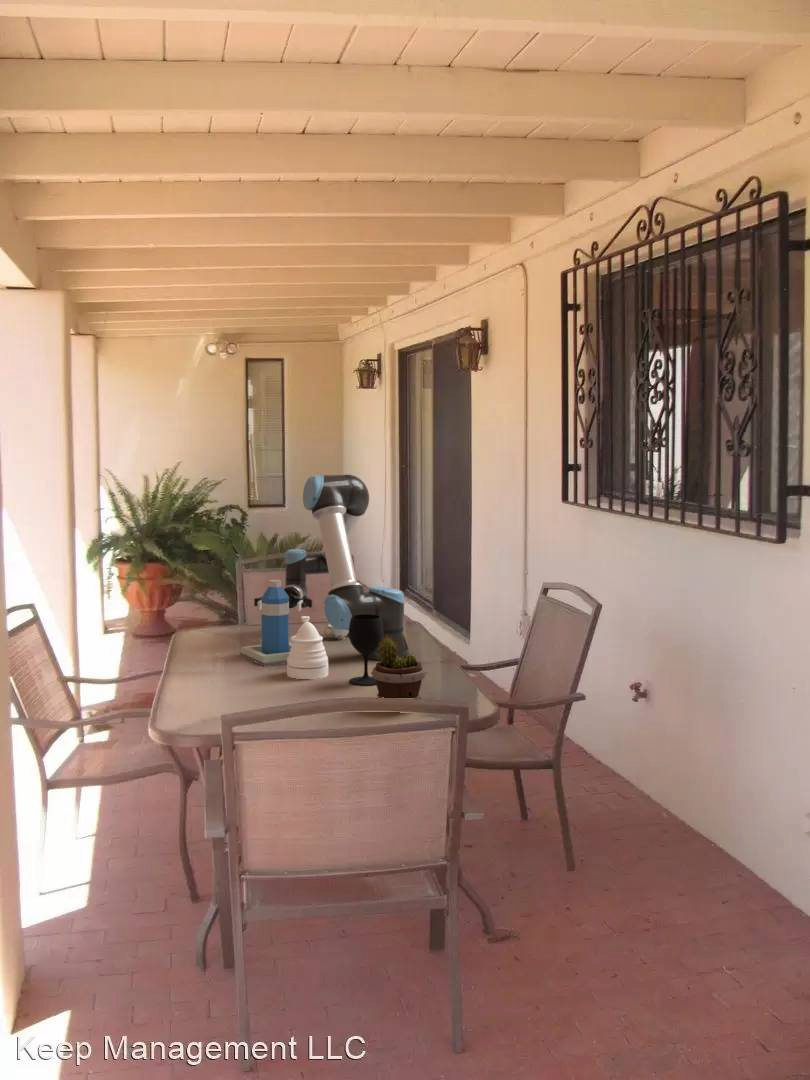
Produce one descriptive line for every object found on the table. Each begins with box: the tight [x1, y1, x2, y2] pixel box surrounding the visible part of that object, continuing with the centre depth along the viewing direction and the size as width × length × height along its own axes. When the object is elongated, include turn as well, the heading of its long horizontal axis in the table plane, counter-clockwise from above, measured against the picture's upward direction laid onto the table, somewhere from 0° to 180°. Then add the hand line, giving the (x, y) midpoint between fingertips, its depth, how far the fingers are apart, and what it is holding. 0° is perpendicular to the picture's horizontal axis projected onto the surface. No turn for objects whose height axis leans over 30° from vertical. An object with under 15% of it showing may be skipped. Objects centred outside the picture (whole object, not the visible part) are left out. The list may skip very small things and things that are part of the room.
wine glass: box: [348, 614, 383, 687], centre depth 314 cm, size 10×10×20 cm
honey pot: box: [286, 615, 329, 680], centre depth 323 cm, size 13×13×18 cm
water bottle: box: [261, 579, 290, 655], centre depth 346 cm, size 9×9×25 cm
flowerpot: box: [370, 636, 428, 700], centre depth 288 cm, size 14×15×20 cm
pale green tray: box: [239, 642, 293, 667], centre depth 347 cm, size 20×17×3 cm
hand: (278, 606), depth 351 cm, fingers open, 13 cm apart
